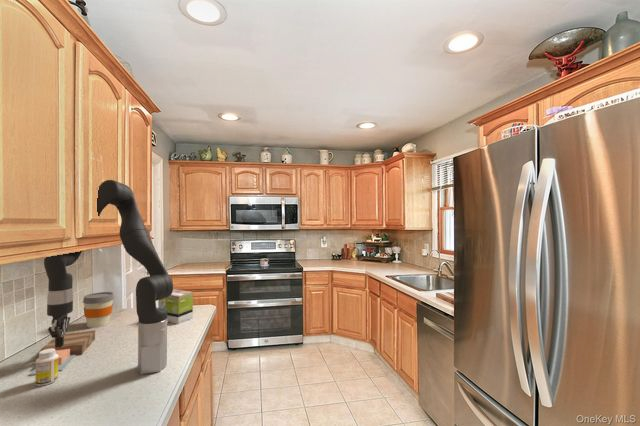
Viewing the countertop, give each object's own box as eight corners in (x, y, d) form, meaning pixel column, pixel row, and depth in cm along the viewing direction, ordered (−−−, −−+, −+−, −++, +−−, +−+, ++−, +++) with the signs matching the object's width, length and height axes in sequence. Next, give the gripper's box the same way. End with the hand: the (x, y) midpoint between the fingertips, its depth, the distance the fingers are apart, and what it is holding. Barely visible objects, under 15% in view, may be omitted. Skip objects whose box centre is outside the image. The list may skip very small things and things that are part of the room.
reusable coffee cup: (85, 322, 154) (86, 293, 155) (114, 318, 160) (115, 290, 161) (79, 330, 143) (80, 299, 144) (111, 326, 149) (112, 296, 150)
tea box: (157, 320, 158) (157, 292, 158) (173, 315, 167) (173, 288, 168) (178, 324, 152) (178, 295, 152) (193, 318, 161) (193, 291, 162)
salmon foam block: (61, 364, 109) (61, 357, 109) (40, 367, 107) (40, 360, 107) (70, 355, 117) (70, 348, 117) (50, 357, 114) (51, 351, 115)
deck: (81, 354, 118) (82, 344, 118) (40, 360, 113) (40, 349, 114) (94, 339, 133) (95, 330, 133) (58, 343, 128) (58, 334, 128)
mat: (61, 371, 106) (61, 369, 106) (28, 375, 102) (28, 374, 102) (75, 355, 118) (75, 354, 118) (46, 359, 114) (46, 358, 114)
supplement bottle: (52, 376, 102) (53, 346, 102) (61, 379, 100) (62, 349, 100) (31, 384, 97) (32, 352, 97) (40, 388, 95) (41, 355, 95)
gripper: (65, 304, 110) (64, 352, 109) (78, 296, 122) (78, 338, 122) (39, 306, 107) (38, 355, 107) (55, 297, 119) (54, 341, 119)
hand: (59, 346), depth 114 cm, fingers closed
